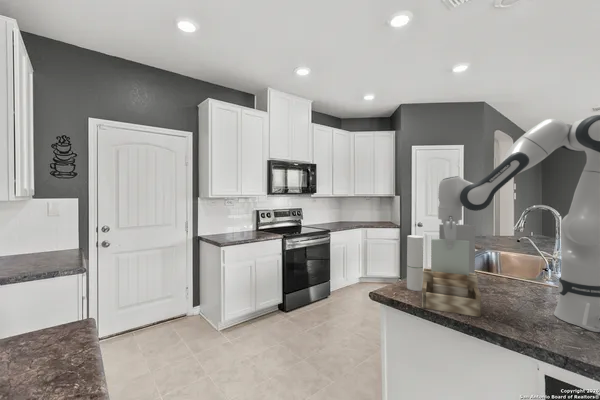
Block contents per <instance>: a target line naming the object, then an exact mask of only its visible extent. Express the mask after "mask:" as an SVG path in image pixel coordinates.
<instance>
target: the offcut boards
mask: <svg viewBox="0 0 600 400" xmlns="http://www.w3.org/2000/svg"><path fill="white" fill-rule="evenodd" d="M433 293H436V294H443V295H450V296H457V297H464V298H468V288H467V275H463V274H454V273H445V272H436V271H433Z"/></svg>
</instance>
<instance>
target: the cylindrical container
mask: <svg viewBox="0 0 600 400" xmlns="http://www.w3.org/2000/svg"><path fill="white" fill-rule="evenodd" d="M406 237H407V238H406V243H407V245H406V247H407V248H406V251H407V252H406V253H407V254H406V289H408V290H410V291H416V292H422V285H423V271H424V236H423V235H417V234H416V235H413V234H412V235H409V234H408V235H407V236H406Z"/></svg>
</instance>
